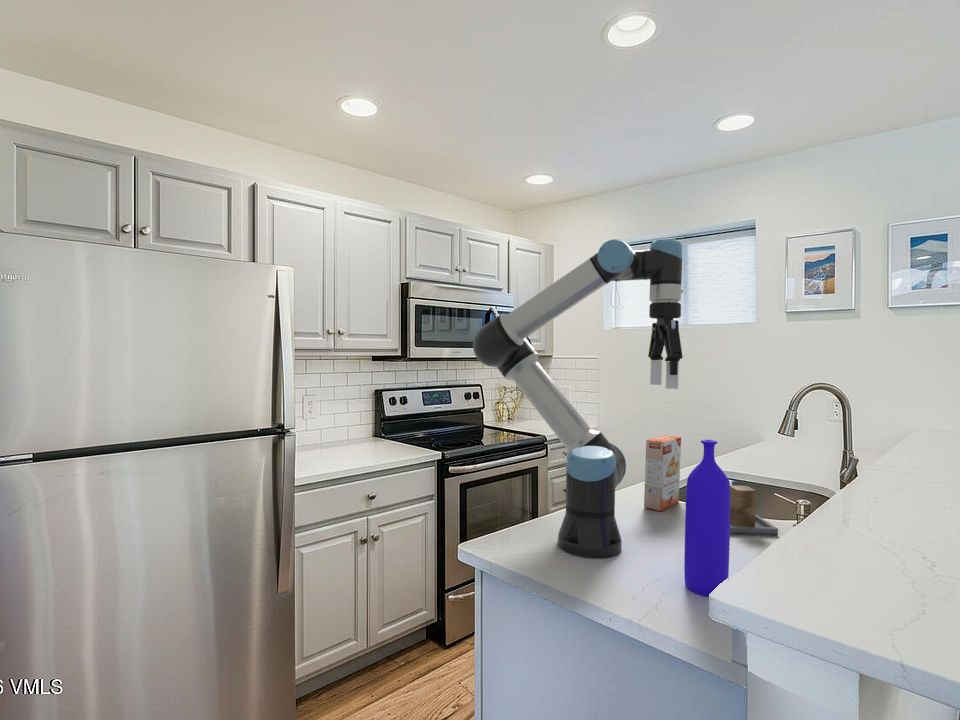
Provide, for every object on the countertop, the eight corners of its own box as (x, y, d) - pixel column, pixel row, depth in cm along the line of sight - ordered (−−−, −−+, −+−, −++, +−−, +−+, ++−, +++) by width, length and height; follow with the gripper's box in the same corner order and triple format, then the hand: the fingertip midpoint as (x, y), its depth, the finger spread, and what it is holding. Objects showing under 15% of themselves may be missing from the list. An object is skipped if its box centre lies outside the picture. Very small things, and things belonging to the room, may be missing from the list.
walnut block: (735, 527, 142) (736, 490, 142) (728, 521, 147) (729, 485, 146) (754, 527, 141) (755, 490, 141) (746, 521, 146) (747, 485, 146)
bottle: (682, 577, 112) (685, 436, 111) (724, 582, 109) (728, 438, 108) (685, 594, 104) (688, 442, 103) (731, 600, 101) (735, 445, 100)
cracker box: (662, 512, 156) (664, 442, 155) (643, 508, 160) (644, 439, 159) (680, 502, 166) (682, 436, 166) (662, 498, 170) (663, 434, 170)
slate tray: (726, 534, 138) (727, 527, 138) (707, 518, 151) (708, 511, 151) (777, 535, 137) (778, 528, 137) (754, 519, 150) (754, 513, 150)
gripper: (698, 298, 120) (696, 390, 121) (665, 306, 145) (663, 383, 146) (665, 297, 121) (663, 390, 121) (637, 306, 146) (636, 383, 146)
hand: (663, 386), depth 133 cm, fingers open, 13 cm apart
